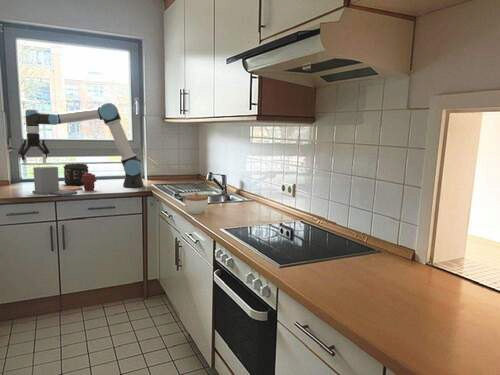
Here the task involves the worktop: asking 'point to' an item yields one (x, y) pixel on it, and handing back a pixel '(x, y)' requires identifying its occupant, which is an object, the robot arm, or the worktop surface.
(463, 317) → the worktop surface
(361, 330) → the worktop surface
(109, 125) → the robot arm
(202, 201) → the lidded bowl
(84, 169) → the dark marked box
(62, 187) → the terracotta pad
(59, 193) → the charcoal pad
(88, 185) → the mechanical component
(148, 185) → the worktop surface
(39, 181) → the grey unit
